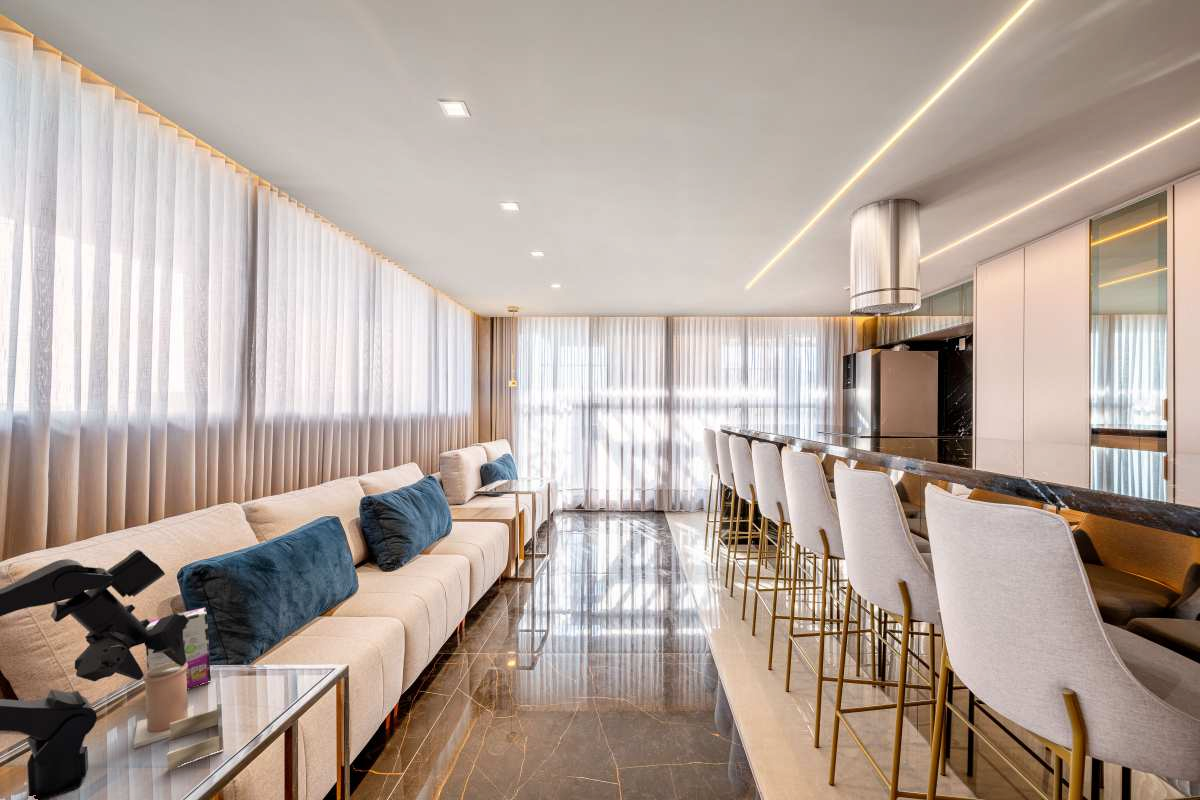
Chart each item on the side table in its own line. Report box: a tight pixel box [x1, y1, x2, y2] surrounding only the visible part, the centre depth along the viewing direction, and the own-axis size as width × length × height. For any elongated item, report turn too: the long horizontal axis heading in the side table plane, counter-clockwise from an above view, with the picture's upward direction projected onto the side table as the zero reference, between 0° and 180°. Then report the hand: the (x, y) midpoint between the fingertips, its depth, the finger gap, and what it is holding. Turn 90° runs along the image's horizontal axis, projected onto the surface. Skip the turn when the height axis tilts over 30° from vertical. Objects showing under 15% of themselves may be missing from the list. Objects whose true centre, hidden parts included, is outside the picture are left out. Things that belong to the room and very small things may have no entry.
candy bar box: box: [145, 607, 212, 690], centre depth 122 cm, size 11×5×16 cm, turn 129°
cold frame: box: [167, 677, 224, 772], centre depth 101 cm, size 8×12×9 cm
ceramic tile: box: [132, 704, 195, 749], centre depth 107 cm, size 9×9×1 cm
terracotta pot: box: [142, 662, 189, 732], centre depth 107 cm, size 7×7×11 cm
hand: (162, 670), depth 103 cm, fingers open, 9 cm apart
